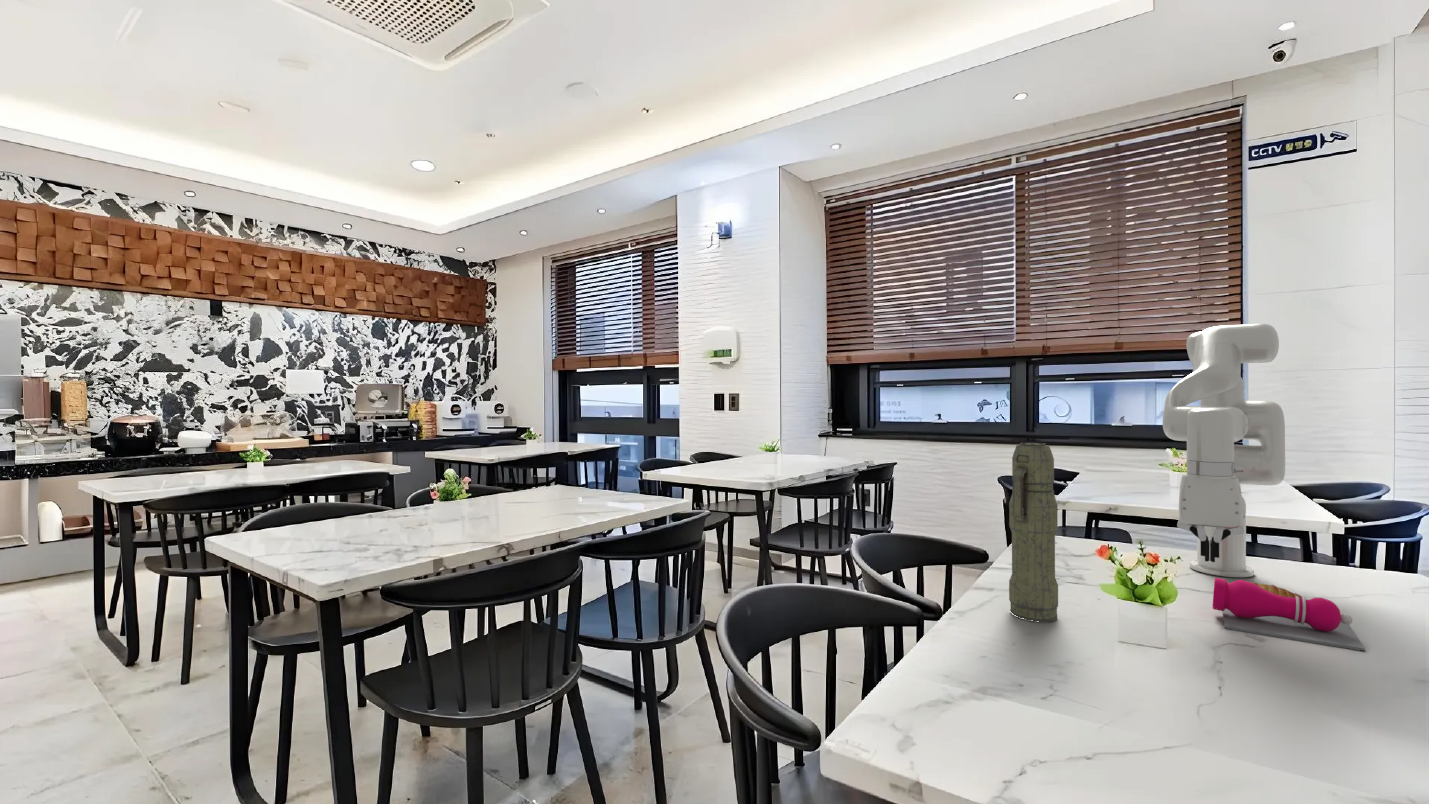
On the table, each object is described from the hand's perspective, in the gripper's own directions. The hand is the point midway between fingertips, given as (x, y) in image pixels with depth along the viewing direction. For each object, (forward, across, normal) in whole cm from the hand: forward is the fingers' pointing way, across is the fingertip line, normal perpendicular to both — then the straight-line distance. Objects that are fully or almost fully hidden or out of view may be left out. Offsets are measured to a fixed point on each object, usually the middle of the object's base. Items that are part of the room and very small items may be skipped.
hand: (1209, 560), depth 129 cm
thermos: (+11, +29, +20) cm, 37 cm away
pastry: (+12, -11, -17) cm, 23 cm away
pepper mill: (+7, 0, 0) cm, 7 cm away
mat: (+11, -12, 0) cm, 16 cm away
